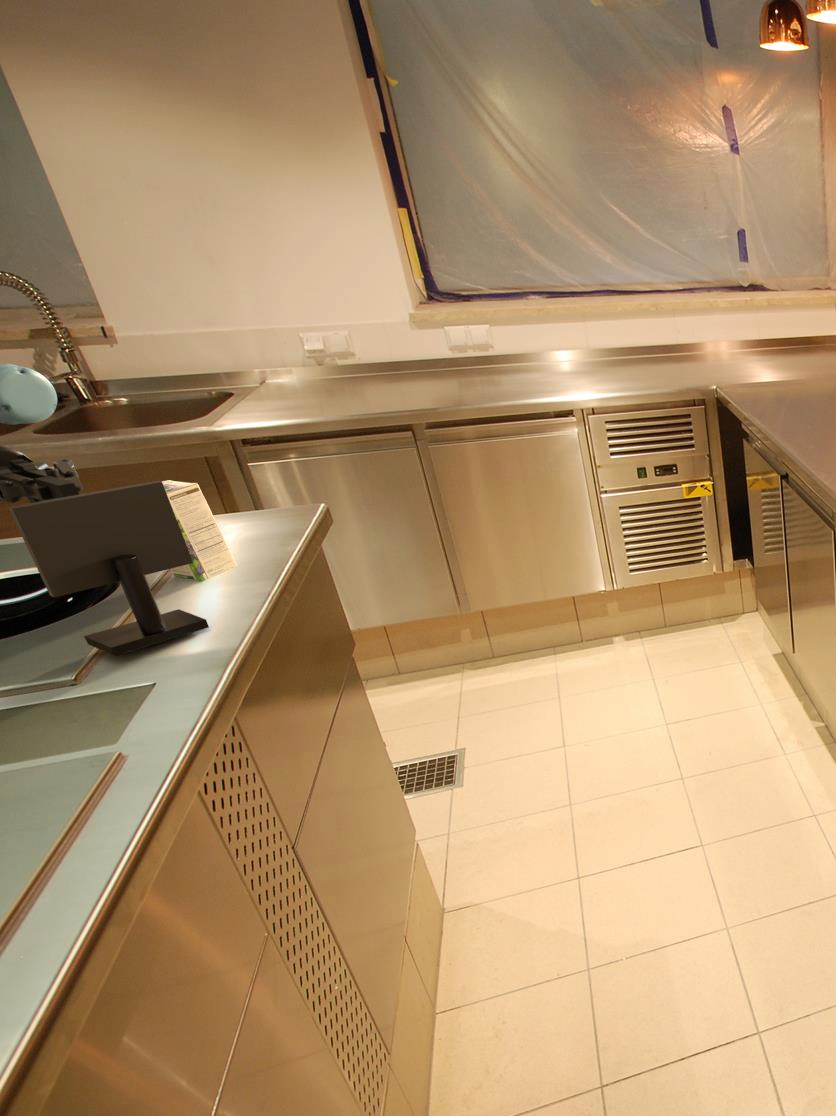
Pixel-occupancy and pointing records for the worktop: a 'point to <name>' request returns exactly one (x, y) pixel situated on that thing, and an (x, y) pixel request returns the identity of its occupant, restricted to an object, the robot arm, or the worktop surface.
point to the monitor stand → (142, 615)
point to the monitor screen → (100, 535)
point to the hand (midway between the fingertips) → (71, 494)
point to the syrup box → (198, 533)
